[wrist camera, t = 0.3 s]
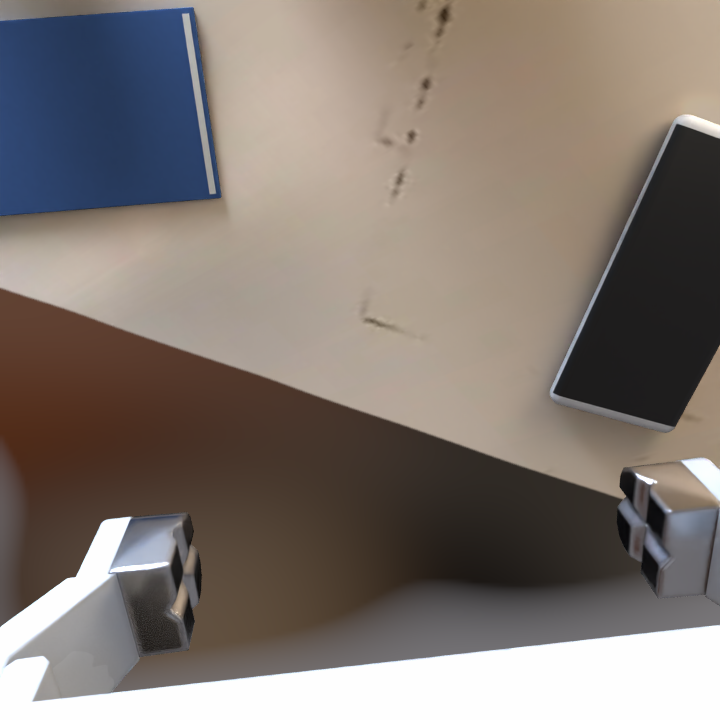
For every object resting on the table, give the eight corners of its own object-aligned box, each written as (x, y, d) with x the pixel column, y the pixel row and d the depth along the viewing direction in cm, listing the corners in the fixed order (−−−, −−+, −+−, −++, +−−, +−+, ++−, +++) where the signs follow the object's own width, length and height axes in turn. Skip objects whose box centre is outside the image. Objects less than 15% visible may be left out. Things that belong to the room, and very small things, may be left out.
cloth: (-107, 29, 50) (-111, 28, 49) (193, 7, 50) (192, 6, 50) (-49, 219, 55) (-52, 220, 55) (221, 197, 56) (220, 198, 55)
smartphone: (543, 395, 65) (549, 403, 63) (673, 110, 56) (684, 111, 54) (664, 428, 67) (672, 436, 66) (808, 160, 58) (822, 162, 56)
